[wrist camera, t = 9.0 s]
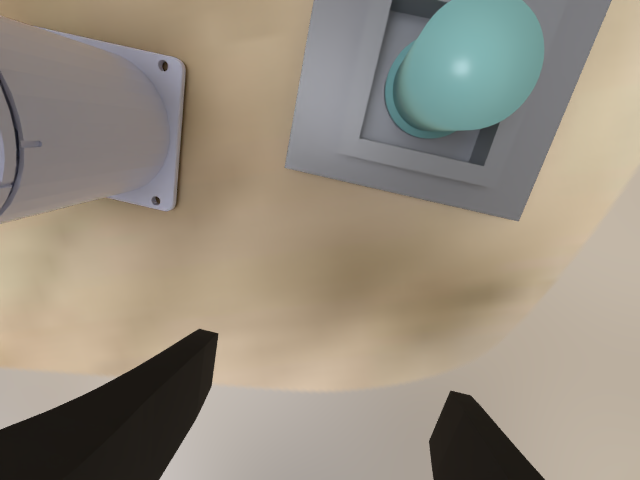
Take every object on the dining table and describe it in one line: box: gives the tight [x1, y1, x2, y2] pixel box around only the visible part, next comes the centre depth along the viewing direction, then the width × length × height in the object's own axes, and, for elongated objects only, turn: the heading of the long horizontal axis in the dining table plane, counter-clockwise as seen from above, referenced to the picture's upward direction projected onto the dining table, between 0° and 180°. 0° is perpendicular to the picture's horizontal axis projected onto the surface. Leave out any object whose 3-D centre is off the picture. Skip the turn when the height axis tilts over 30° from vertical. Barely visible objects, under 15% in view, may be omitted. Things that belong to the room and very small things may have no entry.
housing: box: [285, 0, 612, 221], centre depth 14 cm, size 12×16×3 cm
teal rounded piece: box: [384, 0, 544, 138], centre depth 12 cm, size 4×4×6 cm
